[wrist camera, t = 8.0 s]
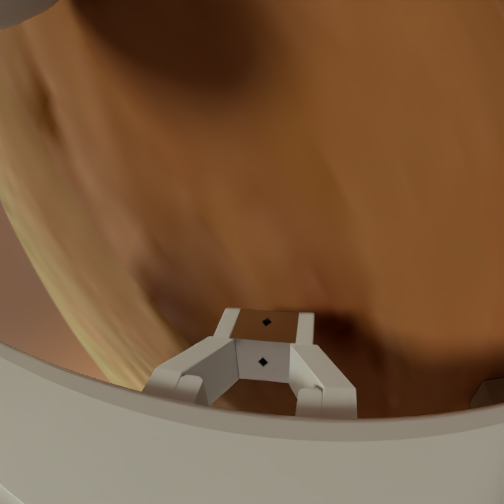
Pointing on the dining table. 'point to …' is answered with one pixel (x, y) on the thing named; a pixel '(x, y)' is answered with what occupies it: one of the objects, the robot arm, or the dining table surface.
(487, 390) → the bridge
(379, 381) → the dining table surface
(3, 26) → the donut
